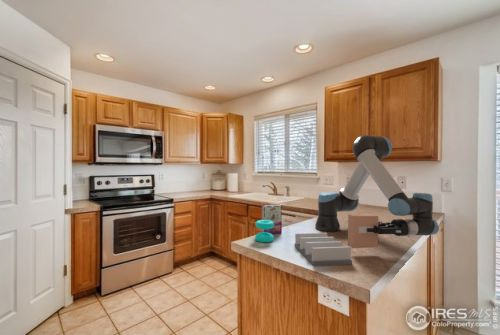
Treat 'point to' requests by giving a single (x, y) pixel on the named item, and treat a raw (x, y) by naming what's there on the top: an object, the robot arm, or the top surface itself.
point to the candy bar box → (273, 217)
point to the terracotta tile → (362, 238)
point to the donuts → (264, 235)
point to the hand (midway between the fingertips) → (356, 228)
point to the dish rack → (322, 249)
